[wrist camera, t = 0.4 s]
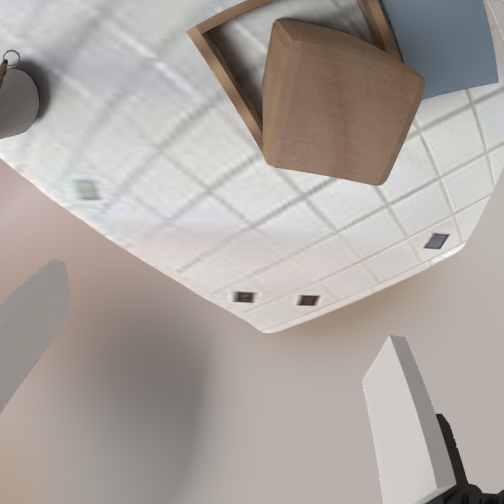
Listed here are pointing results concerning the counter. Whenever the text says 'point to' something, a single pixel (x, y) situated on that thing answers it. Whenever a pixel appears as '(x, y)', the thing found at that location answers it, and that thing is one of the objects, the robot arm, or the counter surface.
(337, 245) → the counter surface
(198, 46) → the walnut frame
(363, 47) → the block
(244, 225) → the counter surface
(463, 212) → the counter surface
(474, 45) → the rubber mat
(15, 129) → the coffee pot
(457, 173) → the counter surface
